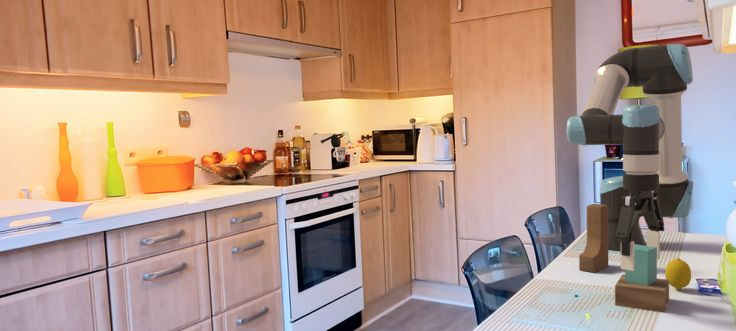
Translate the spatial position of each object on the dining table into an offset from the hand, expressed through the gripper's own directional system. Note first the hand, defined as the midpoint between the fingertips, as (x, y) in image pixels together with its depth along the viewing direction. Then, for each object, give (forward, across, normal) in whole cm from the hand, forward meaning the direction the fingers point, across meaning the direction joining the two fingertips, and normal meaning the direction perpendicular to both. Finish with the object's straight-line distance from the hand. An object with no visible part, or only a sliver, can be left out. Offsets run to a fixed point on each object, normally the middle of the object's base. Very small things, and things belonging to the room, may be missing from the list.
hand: (640, 263), depth 126 cm
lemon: (+9, -14, +3) cm, 17 cm away
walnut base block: (+9, +1, +1) cm, 9 cm away
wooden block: (+9, -19, -21) cm, 30 cm away
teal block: (+4, 0, 0) cm, 4 cm away
